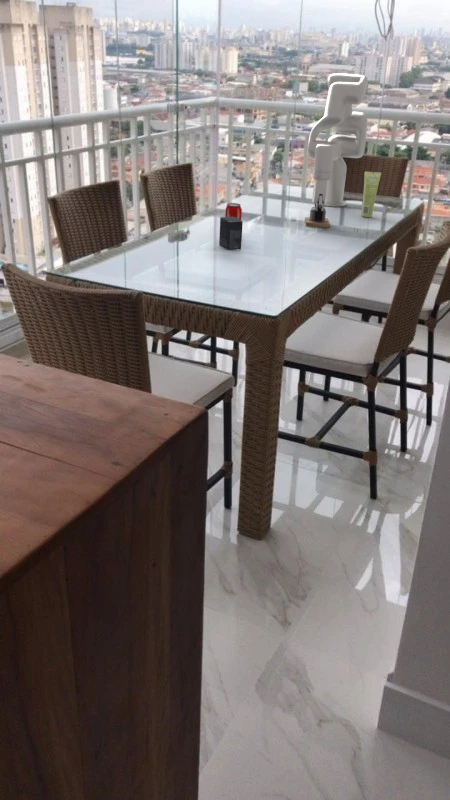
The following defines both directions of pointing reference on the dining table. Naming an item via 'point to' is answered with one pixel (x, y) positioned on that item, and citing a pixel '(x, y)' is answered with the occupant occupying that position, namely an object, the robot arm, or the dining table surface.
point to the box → (230, 233)
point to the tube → (369, 192)
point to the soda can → (233, 210)
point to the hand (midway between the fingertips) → (317, 218)
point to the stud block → (317, 223)
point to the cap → (312, 214)
